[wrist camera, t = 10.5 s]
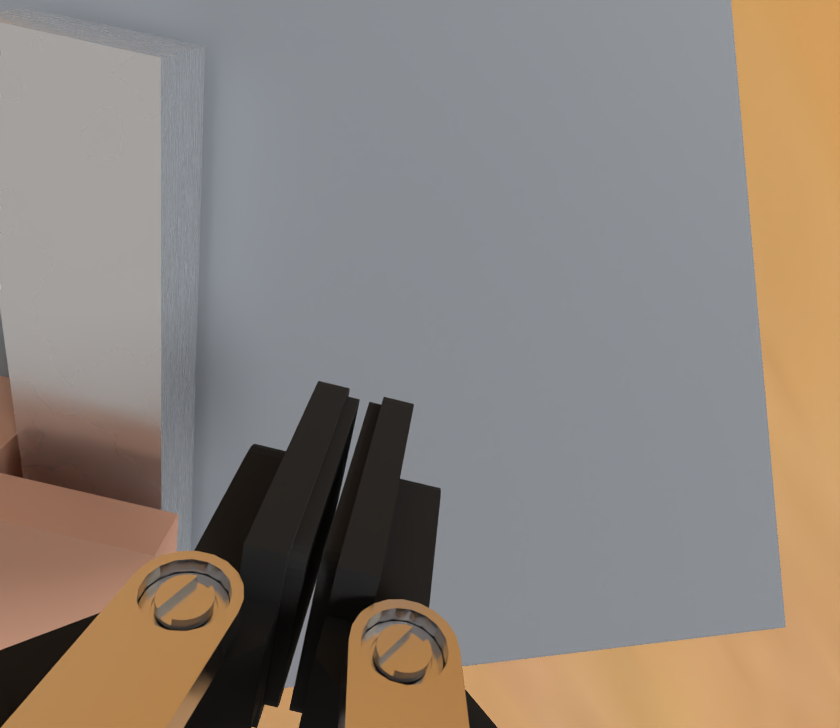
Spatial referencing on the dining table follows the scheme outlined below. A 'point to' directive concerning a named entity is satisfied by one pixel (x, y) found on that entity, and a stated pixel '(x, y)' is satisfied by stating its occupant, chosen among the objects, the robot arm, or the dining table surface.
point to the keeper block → (64, 544)
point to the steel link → (101, 255)
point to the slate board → (495, 293)
